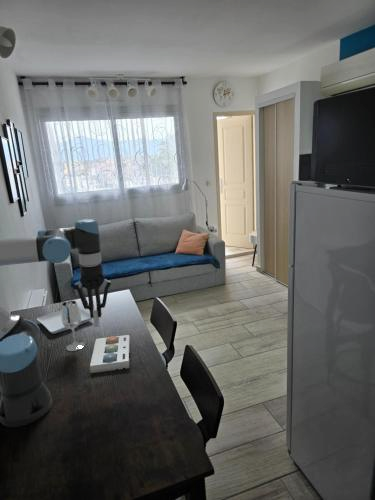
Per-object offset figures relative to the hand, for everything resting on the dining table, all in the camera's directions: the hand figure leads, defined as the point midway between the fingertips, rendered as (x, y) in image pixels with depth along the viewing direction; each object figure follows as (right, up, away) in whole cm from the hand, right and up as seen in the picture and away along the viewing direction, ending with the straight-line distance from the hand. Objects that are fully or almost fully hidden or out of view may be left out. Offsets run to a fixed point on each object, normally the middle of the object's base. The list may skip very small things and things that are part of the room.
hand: (97, 325), depth 120 cm
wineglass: (-15, -14, +19) cm, 28 cm away
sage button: (+3, -14, +11) cm, 18 cm away
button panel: (+3, -15, +11) cm, 19 cm away
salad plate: (-27, -9, +42) cm, 51 cm away
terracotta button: (+2, -12, +17) cm, 21 cm away
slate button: (+4, -15, +4) cm, 16 cm away
